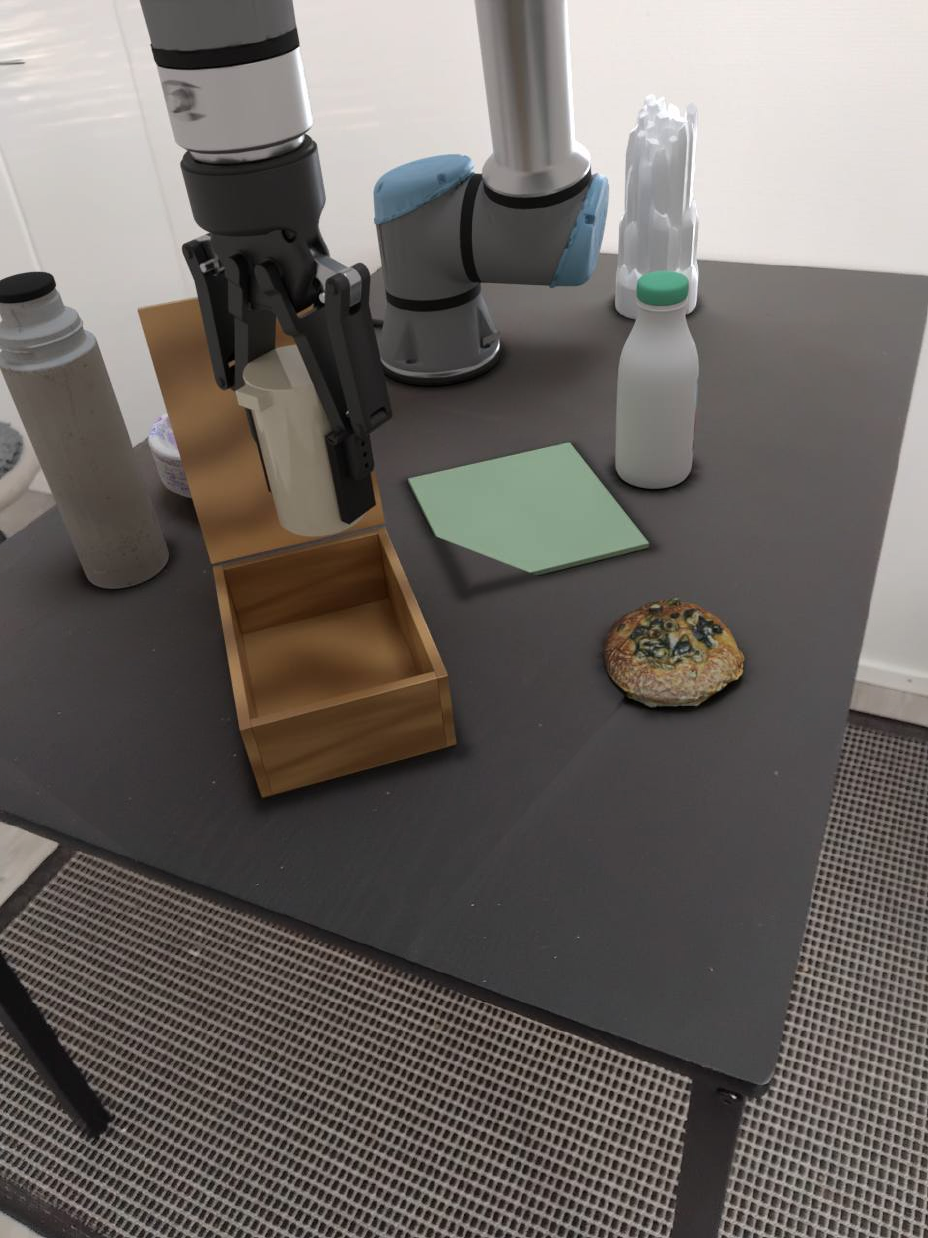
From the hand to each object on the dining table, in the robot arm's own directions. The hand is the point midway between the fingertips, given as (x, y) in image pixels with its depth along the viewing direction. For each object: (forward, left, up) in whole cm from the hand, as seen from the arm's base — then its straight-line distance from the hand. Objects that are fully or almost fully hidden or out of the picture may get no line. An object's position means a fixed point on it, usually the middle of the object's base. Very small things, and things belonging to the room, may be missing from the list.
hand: (321, 497), depth 68 cm
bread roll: (+7, +24, -18) cm, 31 cm away
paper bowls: (-35, -6, -18) cm, 40 cm away
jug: (0, 0, -1) cm, 1 cm away
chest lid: (-11, -2, 0) cm, 11 cm away
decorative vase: (-58, +53, -18) cm, 81 cm away
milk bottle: (-20, +35, -18) cm, 44 cm away
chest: (0, -2, -18) cm, 18 cm away
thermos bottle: (-25, -18, -18) cm, 35 cm away
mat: (-18, +20, -18) cm, 32 cm away
